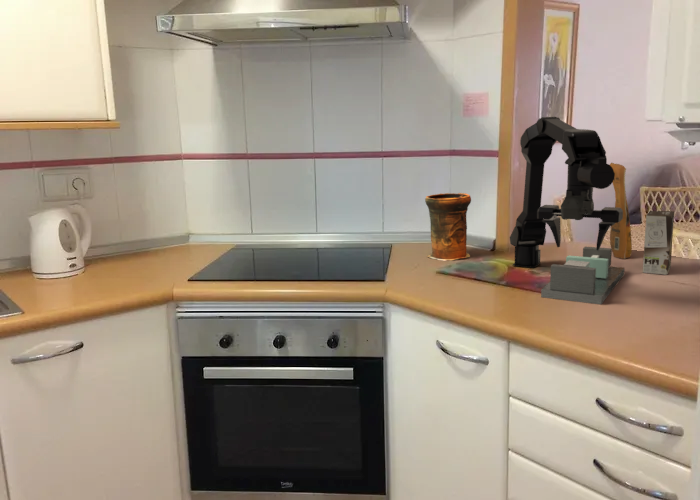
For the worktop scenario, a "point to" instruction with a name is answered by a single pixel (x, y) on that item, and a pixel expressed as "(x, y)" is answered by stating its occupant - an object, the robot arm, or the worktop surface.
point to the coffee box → (658, 242)
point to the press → (580, 283)
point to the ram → (595, 259)
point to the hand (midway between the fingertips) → (577, 248)
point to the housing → (577, 263)
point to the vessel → (448, 225)
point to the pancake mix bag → (622, 230)
